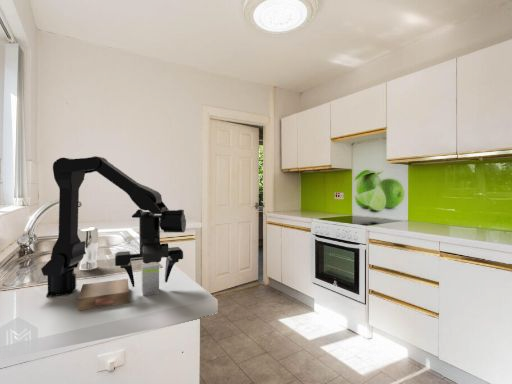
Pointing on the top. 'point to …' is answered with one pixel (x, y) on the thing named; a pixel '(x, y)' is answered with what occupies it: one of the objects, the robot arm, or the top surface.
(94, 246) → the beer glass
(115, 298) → the walnut riser
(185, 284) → the top surface
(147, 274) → the metal column
